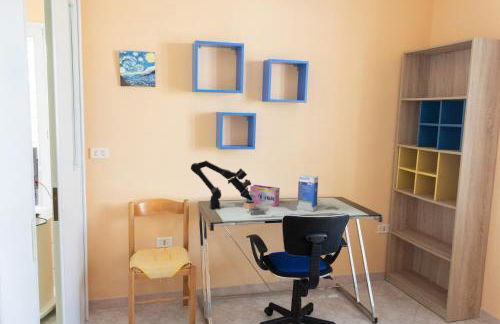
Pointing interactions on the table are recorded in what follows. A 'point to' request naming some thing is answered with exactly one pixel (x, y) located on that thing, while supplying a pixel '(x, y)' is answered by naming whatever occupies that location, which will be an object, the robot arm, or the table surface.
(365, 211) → the table surface
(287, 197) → the table surface
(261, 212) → the tray
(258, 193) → the gum box
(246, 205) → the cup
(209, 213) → the table surface
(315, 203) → the string lights box
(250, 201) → the battery
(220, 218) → the table surface
